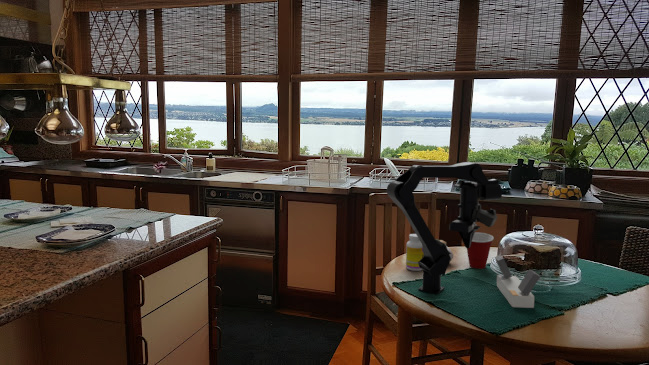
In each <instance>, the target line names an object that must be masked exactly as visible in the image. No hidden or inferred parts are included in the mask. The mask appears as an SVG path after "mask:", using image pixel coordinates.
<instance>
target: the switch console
mask: <svg viewBox="0 0 649 365" xmlns="http://www.w3.org/2000/svg"><path fill="white" fill-rule="evenodd" d="M511 276H512V277H510V278H508V279H506V278H505V277H504V276H503V275H502V274H497V275H496V287H497V288H498V289H499V292H501V293H502V295H503V296H504V298H505V299H506V301H508V303H509V305H510V306H511V307H512V308H525V309H526V308H527V309H529V308H530V309H534V308H535V295H534V294H533V293H532V291H531V292H530V294H529V295H526V294H524V293H522V292H521V291H520V290H519V288H518V286H519V285H520V283H521V282H522V280H520V279H519V278H518V277H517V275H511Z"/></svg>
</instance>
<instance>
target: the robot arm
mask: <svg viewBox="0 0 649 365" xmlns="http://www.w3.org/2000/svg"><path fill="white" fill-rule="evenodd" d="M427 178H428V179H439V178H440V179H444V178H445V179H447V178H448V179H452V178H455V179H458V182H456V183H455V184H454V185H453V187H454V188H458V189H460V190H459V192H460V193H459V196H460V198H459V204H457V208H459V216H457V219H455V220H453V221H451V222H450V223H449V224H448V226H449V228H448V230H449V231H451V232H458V234H459V236H460V238H461V241H462V243H463V245H464V247H465V248H466V249H467V248H470V246H471V242H472V239H473V236H474V233H476V232H477V231H479V229H480V228H481V226H479V225H477V222H478V223H480V224H482V225H485V226H486V227H487V228H491V227H492V226H494V224H495V223H496V221H497V220H498V215H497V211H496V209H493V208H490V209H488V210H486V209H485V210H484V209H482V204H481V203H479V200H480V201H498V200H500V199H501V198H502V196H503V190H502V186H501V184H500V183H499V179H495V178H492V179H488V178H487V176H486V175H485V173H484V171H483V168H482V166H481V164H480V163H474V162H468V161H467V162H466V161H464V162H460V163H459V162H458V163H455V164H452V165H419V164H418V165H417V164H414V165H413V164H412V165H411V166H410V167H409V168H408V169H407V170H406V171H405V172H404V173H401V175H398V177H397V178H396V179H394V180H393V181H391V182H390V183H389V184H388V185H387V187H386V189H385V190H386V195H387V196H388V197H389V198H390V199H391V201H392V202H393V203H394V204H395V205H396V206H397V207H398V208H399V209H400V210H401V211H402V213H403V214H404V216H405V218H406V219H407V222H408V224H409V225H410V226H411V229H412V230H413V231H414V234H416V235H417V236H418V238H419V240H420V242H421V243H422V247H423V253H424V256H423V258H422V259H421V260H420V261H419V262H418V264H419V267H420V268H421V269H423V270H422V285H421V286H420V287H418V288H417V289H418V291H419V292H420V291H421V292H425V293H428V294H434V295H438V294H440V293H441V292H442V291H443V290H445V286H442V285H441V284H442V283H441V281H442V276H444V275H446V272H447V270H448V267H449V266H450V263H451V261H452V260H451V257H450V255H449V254H451V253H450V252H449V251H448V250H447V247H448V246H447V244H446V245H445V243H443V242H441V241H440V240H439V239H437V240H436V239H435V237H434V235H433V234H432V231H431V230H430V228H429V227H428V225H427V223H426V221H425V219H424V218H423V216H422V214H421V213H420V211H419V209H418V207H417V206H416V201H415V195H414V192H415V190H416V189H417V188H418V186H419V184H420V182H421V181H422V180H423V179H427ZM465 181H467V182H465ZM438 240H439V241H438ZM446 246H447V247H446Z"/></svg>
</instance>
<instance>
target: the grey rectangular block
mask: <svg viewBox="0 0 649 365" xmlns="http://www.w3.org/2000/svg"><path fill="white" fill-rule="evenodd" d="M539 279H541V276H540V275H539V274H538V273H537V272H535V271H534V270H532V269H528V271H527V272H526V274H525V276H524V277H523V279H522V280H521V283H520V285H519V286H518V288H519V290H520V291H521V292H522V293H524V294H526V295H529V294H530V292H531V293H532V290H534V287H535V286H536V285H537V283H538V281H539Z"/></svg>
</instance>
